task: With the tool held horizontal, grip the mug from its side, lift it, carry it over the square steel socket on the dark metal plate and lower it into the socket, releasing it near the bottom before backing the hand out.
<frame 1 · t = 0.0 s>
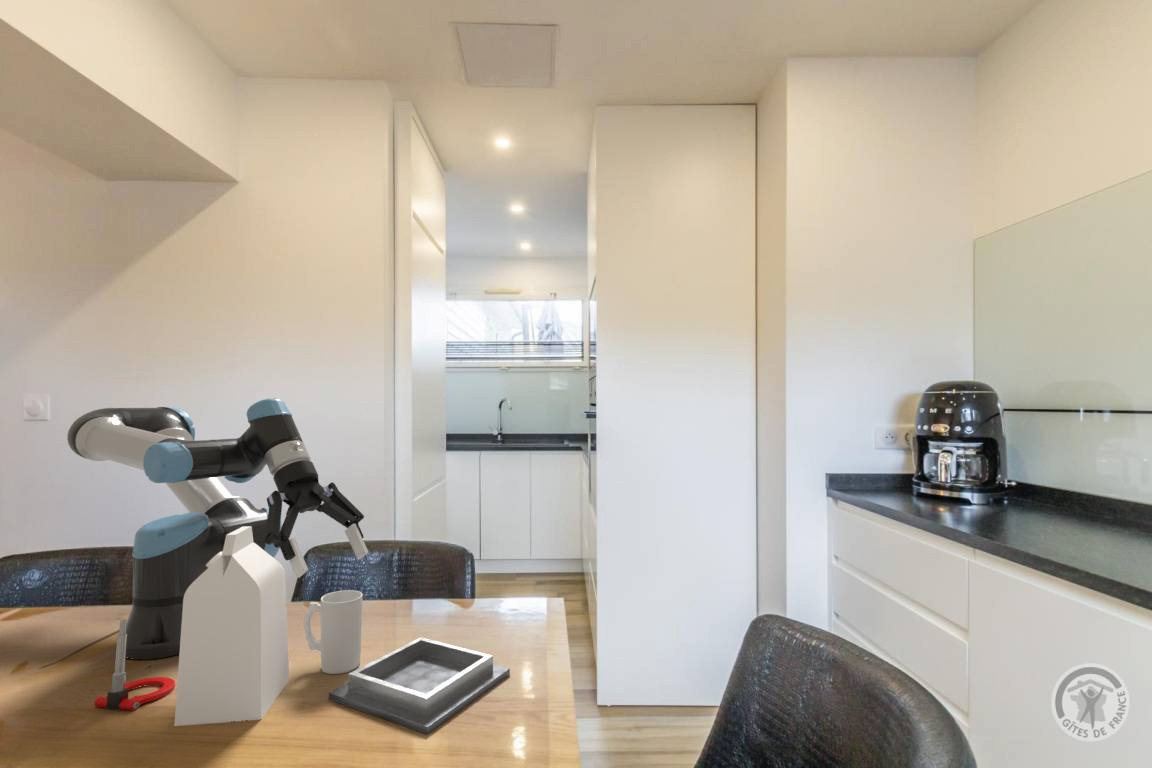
hand: (334, 564, 109), 15 cm above the table, tool tilted 35°, fingers open, 13 cm apart
milk: (236, 702, 89), on the table
socket plate: (423, 686, 94), on the table
mug: (331, 667, 101), on the table
tow hook: (139, 697, 91), on the table
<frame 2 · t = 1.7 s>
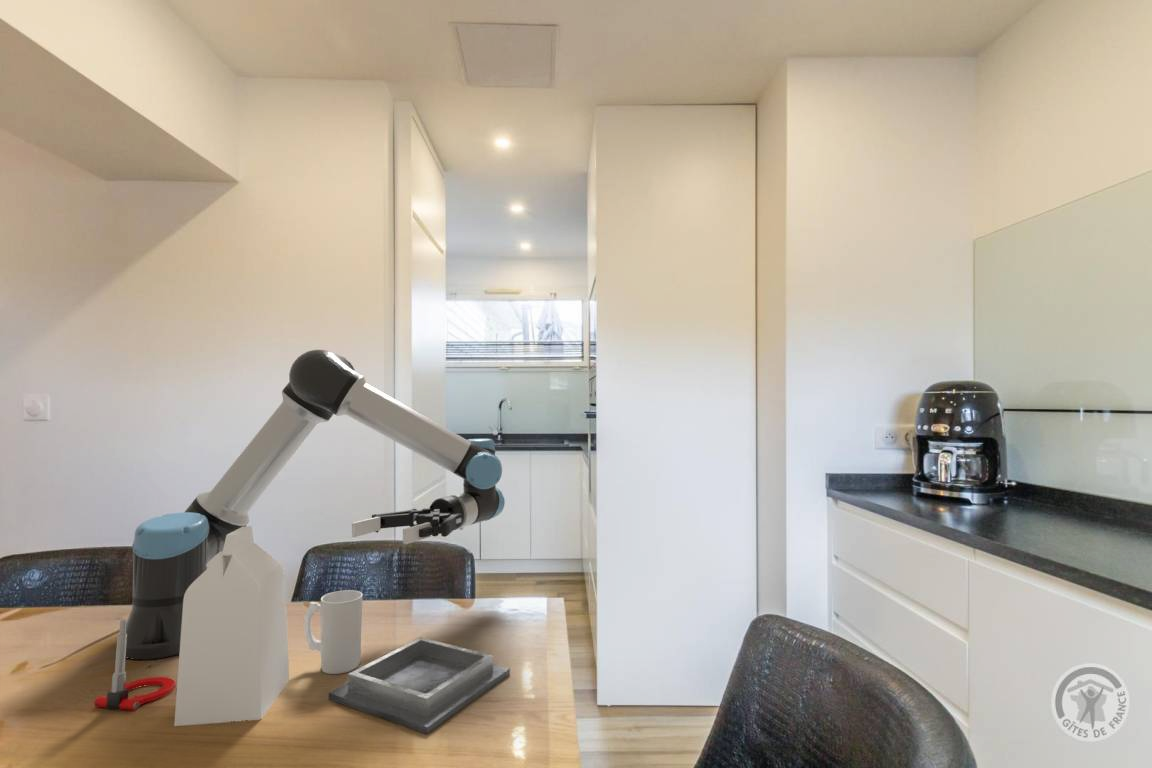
hand: (377, 533, 110), 21 cm above the table, tool horizontal, fingers open, 13 cm apart
nothing on the table moved.
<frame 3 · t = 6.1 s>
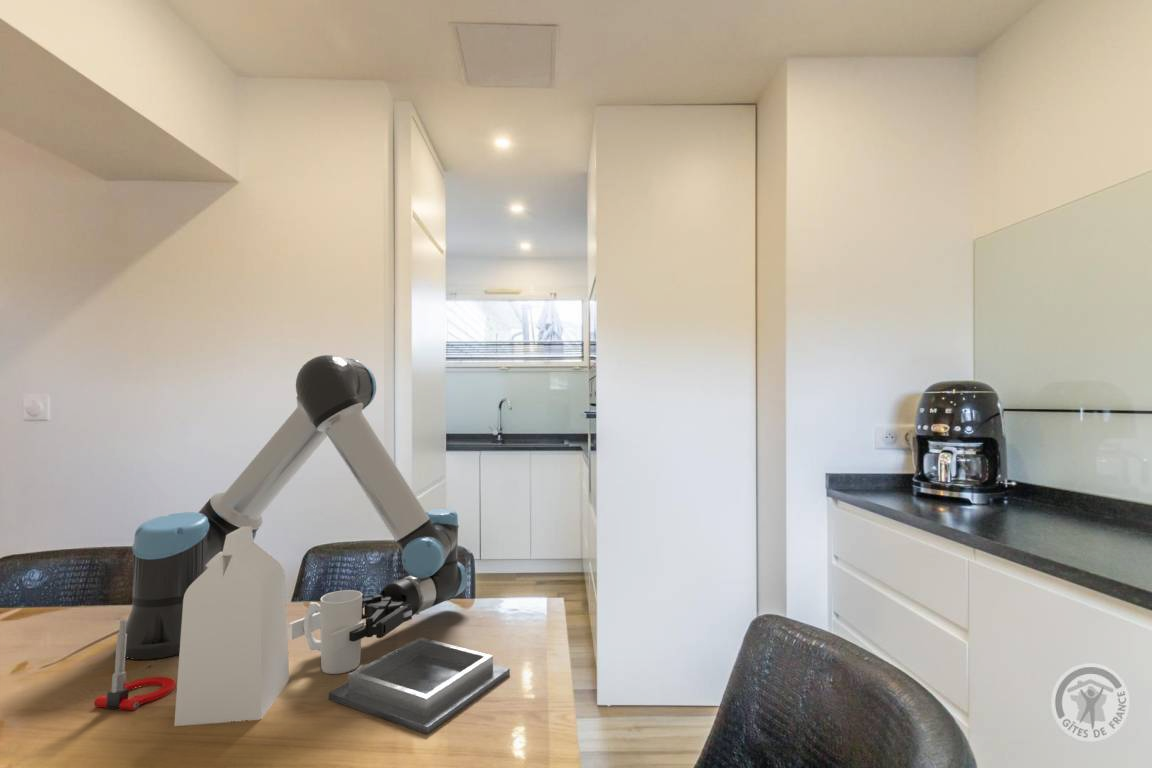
hand: (310, 637, 97), 6 cm above the table, tool horizontal, fingers closed on mug, 9 cm apart
mug: (331, 667, 101), on the table, touching gripper
everything else where it was.
when the fingers open (9 cm above the table, at t = 11.8 s): mug drops 2 cm, resting on socket plate.
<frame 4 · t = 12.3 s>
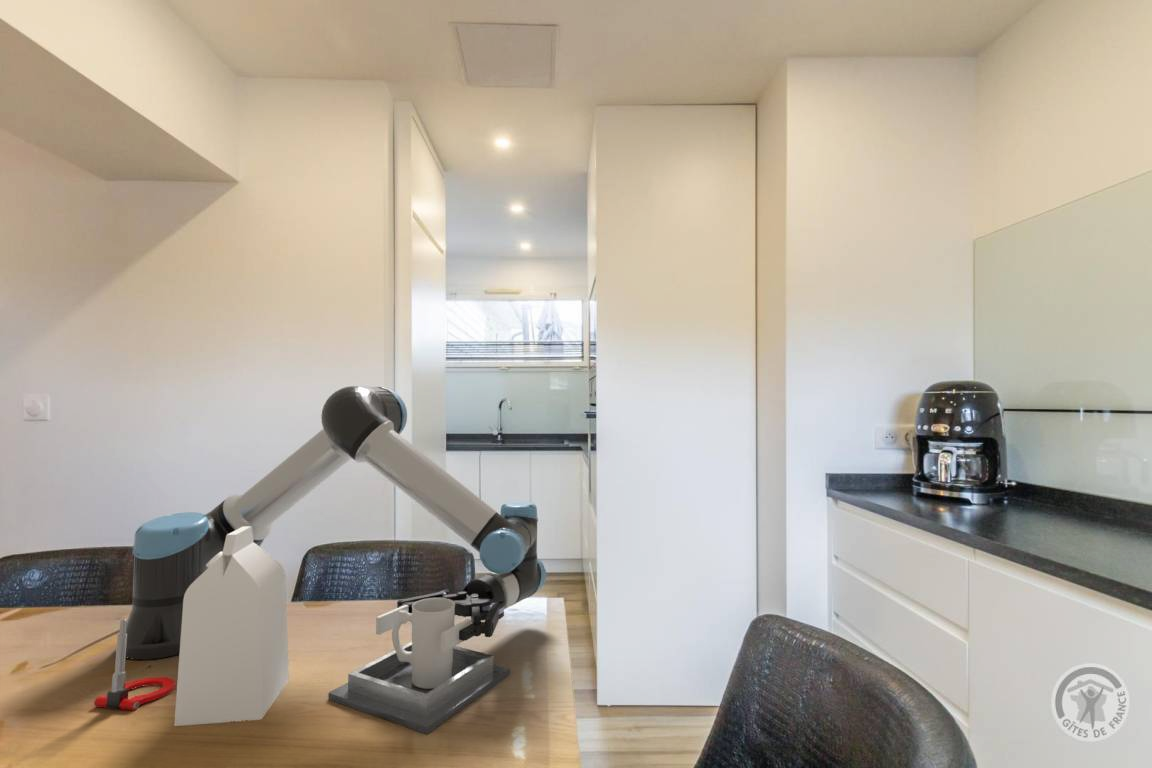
hand: (408, 634, 91), 9 cm above the table, tool horizontal, fingers open, 13 cm apart
mug: (421, 680, 94), point 1 cm above the table, touching socket plate
everything else where it was.
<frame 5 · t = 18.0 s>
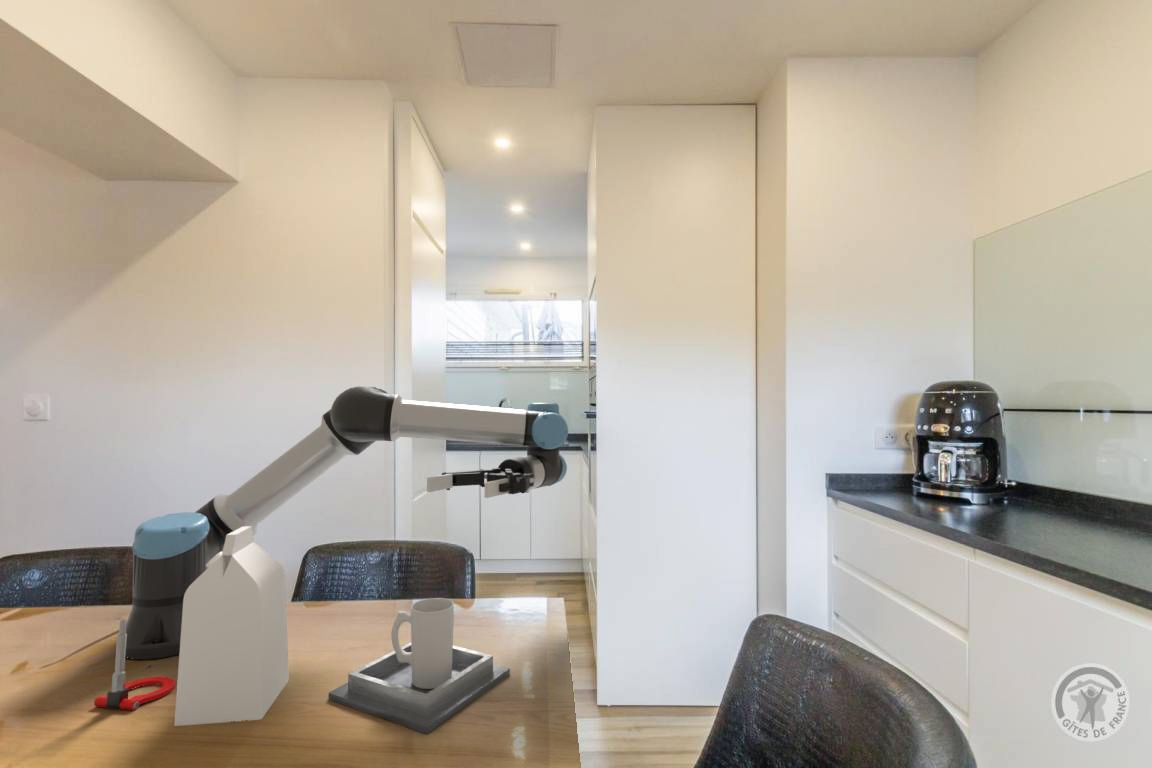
hand: (456, 487, 108), 30 cm above the table, tool horizontal, fingers open, 13 cm apart
nothing on the table moved.
at the end: mug inside the target area on the socket plate (0.2 cm from its centre), point 0.8 cm above the socket plate's base; mug tilted 0°; the gripper is holding nothing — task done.
